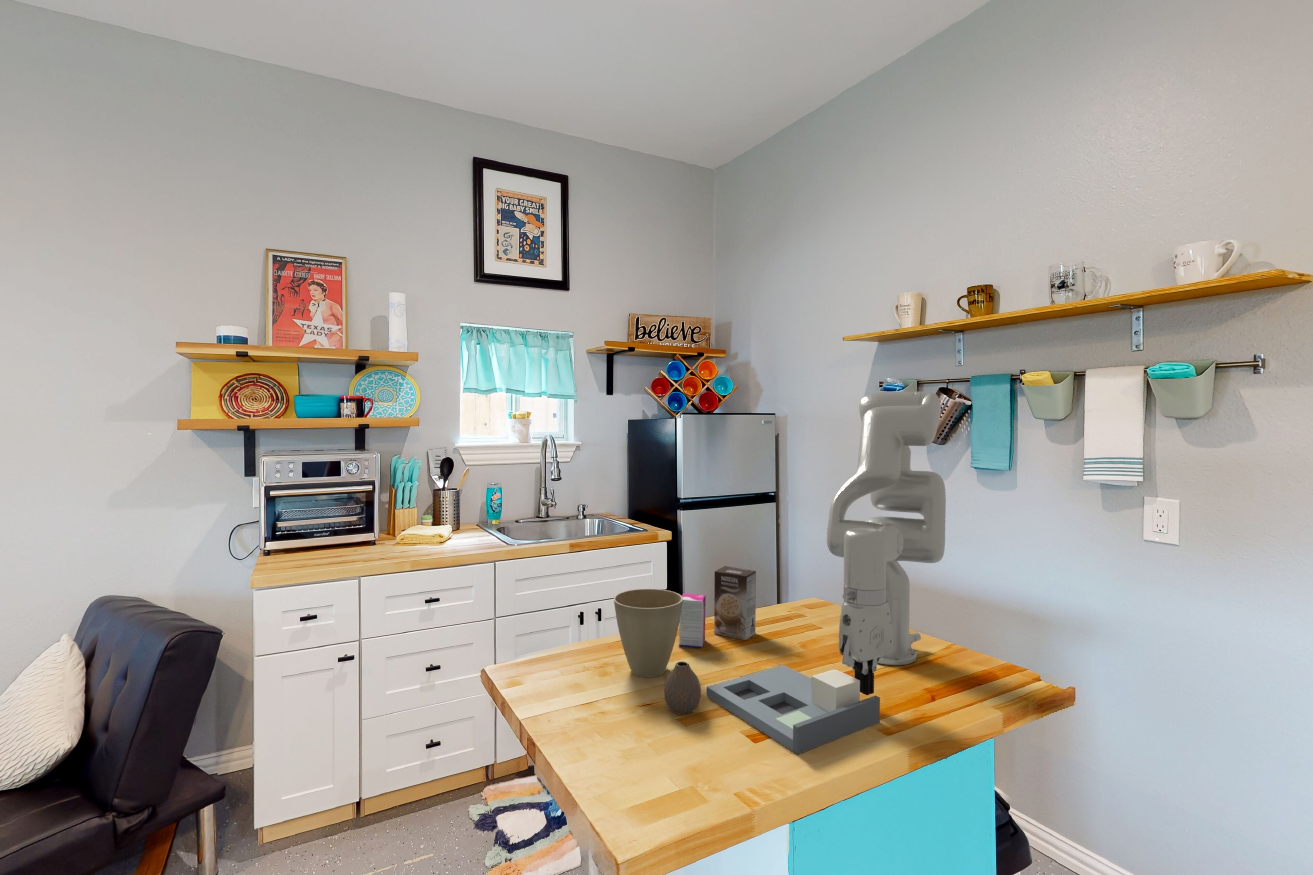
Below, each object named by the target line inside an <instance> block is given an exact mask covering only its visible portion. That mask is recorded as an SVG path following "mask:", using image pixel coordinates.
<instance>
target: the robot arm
mask: <svg viewBox="0 0 1313 875" xmlns="http://www.w3.org/2000/svg"><path fill="white" fill-rule="evenodd" d="M858 410H859V411H858V412H859V416H860V421H861V427H860V437H859V446H858V447H859V448H858V454H857V455H858V456H857V466H856V472H854V473H855V474H853V475H852V476H851V477H849V478H848V479H847V480H846V482H845V483H843V485H842V486H841V487H840V488H839V489H838V491H837V492H836V493H835V495H834V496H833V499H832V502H831V504H830V507H829V514H828V521H827V528H826V529H827V531H826V545H827V546H826V547H827V549H828V551H829V552H830V553H831V554H832V555H834V556H836V557H838V558H843V594H842V599H843V602H842V605H841V609H840V618H839V628H838V629H839V630H838V648H839V649H838V651H839V654H840V655H841V656H842V660H841V664H842V665H843V666H845V667H847V668H851V669H852V670H853V671H854V678H856V679H858V680H860V694H863V695H865V696H870V695H872V694H874V692H875V673H876V671H877V667H878V664H881V665H888V666H904V665H909V664H912V663H914V662H916V660H917V658H918V657H917V655H918V654H917V652H916V650H915V649H914V648H912V645H913V643H915V642H919V641H921V639H922V637H921V636H922V635H921V634H920V633H919V632H912V633H910V600H911V599H910V598H911V597H910V586H911V585H910V579H909V576H908V573H907V572H906V571H905V569H904V568H903V567H902V565H901V563H899V562H911V563H912V562H913V563H922V564H936V563H939V562H940V561H941V560H942V559H943V557H944V554H945V549H946V515H947V514H946V513H947V512H946V507H947V506H946V505H947V504H946V503H947V502H946V500H947V498H946V497H947V496H946V486H945V482H944V481H945V480H944V479H943V477H942V476H941V475H940V474H938V472H935V471H928V470H912V469H911V460H912V459H911V458H912V457H911V455H912V452H911V448H910V446H911V447H927V446H929V445H931V444H932V443H933V442H934V439H935V438H936V435H937V430H938V427H939V423H940V420H941V414H942V405H941V400H940V398H939V396H938V395H937V393H935V392H932V391H886V392H885V391H882V392H881V391H880V392H873V393H870V394H866V395H864V396H863V397H862V398H861V399H860V400H859V405H858ZM866 495H870V502H871V505H872V506H873V507H874V508H875V509H877V510H880V511H886V512H895V513H897V512H898V513H911V514H920V515H922V517H923V518H910V517H900V516H899V517H897V516H873V517H871V518H868V519H866V520H856V519H855V520H852V519H845V518H846V513H847V511H848V509H849V508H850V507H851V506H852V504H853V503H855V502H856V501H858V499H861V498H862V497H864V496H866Z"/></svg>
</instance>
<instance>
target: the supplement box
mask: <svg viewBox="0 0 1313 875" xmlns="http://www.w3.org/2000/svg"><path fill="white" fill-rule="evenodd" d="M681 596H682V597H683V602H682V609H681V616H680V622H679V627H678V631H679V632H678V633H679V634H678V648H687V649H689V648H690V649H703V647H704V643H705V642H706V604H707V603H706V602H707V601H706V600H707V599H706V594H694V593H683V594H682V595H681Z"/></svg>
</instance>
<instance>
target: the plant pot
mask: <svg viewBox="0 0 1313 875" xmlns="http://www.w3.org/2000/svg"><path fill="white" fill-rule="evenodd" d="M682 602H683V597H682V595H681V594H680V593H677V592H675V591H671V590H667V589H660V588H659V589H658V588H639V589H637V588H636V589H630V590H624V591H620V592H619V593H617V594H616V595H615V596H614V597H613V604H614V611H615V617H616V622H617V623H616V624H617V628H618V633H619V636H620V641H621V645H622V648H623V651H624V654H625V657H626V660H627V664H628V666H629V669H630V671H631V673H632V674H633V675H634V676H638V677H641V678H642V677H643V678H654V677H655V678H656V677H659V676H661V675H663V674H664V673H665V672H666V669H667V667H668V664H669V662H670V658H671V655H672V653H673V649H674V646H675V642H676V640H677V635H678V631H679V622H680V616H681V609H682Z"/></svg>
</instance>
